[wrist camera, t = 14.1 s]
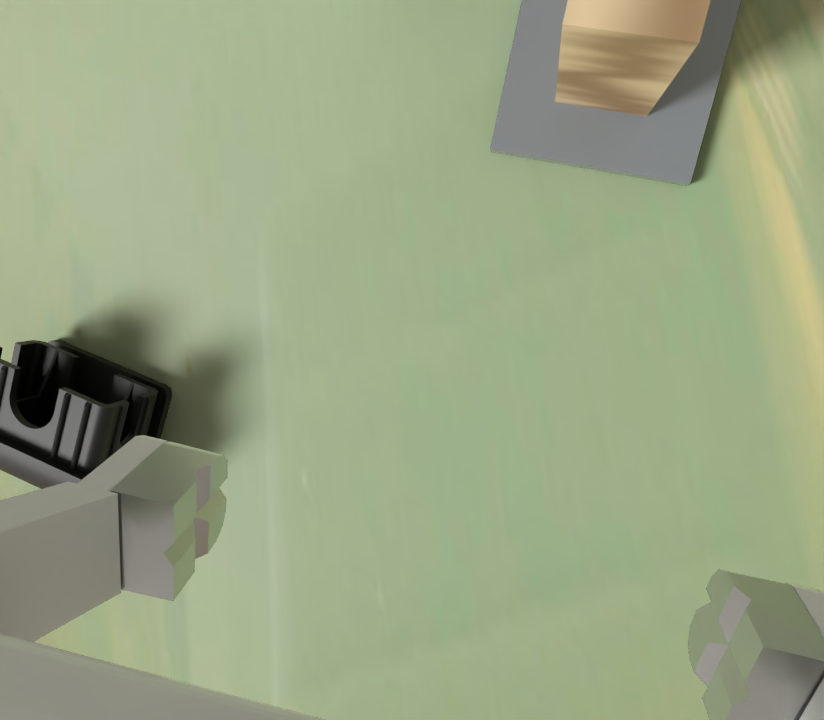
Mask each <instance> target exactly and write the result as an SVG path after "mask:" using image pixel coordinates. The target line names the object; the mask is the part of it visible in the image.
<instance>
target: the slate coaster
mask: <svg viewBox="0 0 824 720" xmlns="http://www.w3.org/2000/svg"><path fill="white" fill-rule="evenodd" d="M567 1H568V0H522V2H521V7H520V12H519V16H518V21H517V26H516V30H515V35H514V40H513V44H512V49H511V54H510V58H509V63H508V68H507V73H506V77H505V82H504V87H503V91H502V96H501V101H500V105H499V110H498V115H497V119H496V124H495V129H494V133H493V138H492V143H491V147H490V150H491V152H495V153H500V154H506V155H512V156H518V157H523V158H529V159H535V160H541V161H546V162H552V163H558V164H564V165H570V166H575V167H581V168H587V169H593V170H598V171H604V172H610V173H616V174H622V175H627V176H633V177H639V178H645V179H650V180H656V181H662V182H668V183H673V184H679V185H685V186H687V185H689V184H690V183H691V180H692V176H693V173H694V169H695V165H696V162H697V158H698V155H699V151H700V147H701V144H702V140H703V136H704V133H705V129H706V126H707V122H708V118H709V115H710V111H711V108H712V104H713V100H714V97H715V93H716V90H717V86H718V82H719V79H720V75H721V72H722V68H723V64H724V61H725V57H726V54H727V50H728V46H729V43H730V39H731V36H732V32H733V28H734V25H735V21H736V18H737V14H738V10H739V7H740V3H741V0H711V1H710V5H709V8H708V12H707V16H706V19H705V23H704V27H703V31H702V34H701V38H700V42H699V44H698V45H697V46H696V48H695V49H694V51H693V52H692V54H691V55H690V56H689V58H688V59H687V61H686V62H685V63H684V65H683V66H682V68H681V69H680V70H679V72H678V73H677V75H676V76H675V78H674V79H673V80H672V82H671V83H670V85H669V86H668V87H667V89H666V90H665V92H664V93H663V94H662V96H661V97H660V99H659V100H658V101H657V103H656V104H655V106H654V107H653V109H652V110H651V111H650V113H649V114H648V116H642V115H636V114H629V113H623V112H616V111H610V110H603V109H597V108H591V107H584V106H578V105H571V104H565V103H558V102H555V97H556V86H557V76H558V65H559V54H560V44H561V33H562V23H563V19H564V15H565V10H566V6H567Z"/></svg>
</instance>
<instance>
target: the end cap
mask: <svg viewBox="0 0 824 720" xmlns="http://www.w3.org/2000/svg"><path fill="white" fill-rule="evenodd" d="M1 353H2V347H0V358H1ZM171 397H172V392H171V390H170V388H169V387H168V386H167V385H165V384H162V383H160V382H158V381H155V380H153V379H151V378H148V377H146V376H144V375H141V374H139V373H136V372H134V371H132V370H129V369H127V368H125V367H122V366H120V365H117V364H115V363H113V362H110V361H108V360H106V359H103V358H101V357H99V356H96V355H94V354H91V353H89V352H87V351H84V350H82V349H80V348H77V347H75V346H72V345H70V344H68V343H65V342H63V341H61V340H54V341H50V342H48V343H46V342H42V341H35V340H33V341H24V342H17V343H15V347H14V352H13V357H12V362H11V363H9V362H7V361H4V360H2V359H0V470H2V471H4V472H7V473H9V474H11V475H13V476H15V477H17V478H19V479H22V480H24V481H26V482H28V483H30V484H32V485H35V486H37V487H39V488H41V489H44V488H47V487H51V486H54V485H58V484H61V483H65V482H72V483H78V482H80V481H81V480H82V479H83V478H85V477H86V476H87V475H88V474H90V473H91V472H92V471H93V470H94V469H96V468H97V467H98V466H99V465H101V464H102V463H103V462H104V461H106V460H107V459H108V458H109V457H110V456H112V455H113V454H114V453H115V452H117V451H118V450H119V449H120V448H122V447H123V446H124V445H125V444H126V443H128V442H129V441H130V440H131V439H133V438H134V437H135V436H141V435H145V436H149V437H154V438H158V439H160V438H161V434H162V430H163V427H164V423H165V419H166V416H167V412H168V408H169V404H170V401H171Z"/></svg>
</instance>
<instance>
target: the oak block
mask: <svg viewBox="0 0 824 720" xmlns="http://www.w3.org/2000/svg"><path fill="white" fill-rule="evenodd" d="M710 1H711V0H568V1H567V6H566V10H565V15H564V19H563V23H562V33H561V44H560V54H559V65H558V76H557V86H556V97H555V102H558V103H565V104H571V105H578V106H584V107H591V108H597V109H603V110H610V111H616V112H623V113H629V114H636V115H642V116H648V114H649V113H650V111H651V110H652V109H653V107H654V106H655V104H656V103H657V101H658V100H659V99H660V97H661V96H662V94H663V93H664V92H665V90H666V89H667V87H668V86H669V85H670V83H671V82H672V80H673V79H674V78H675V76H676V75H677V73H678V72H679V70H680V69H681V68H682V66H683V65H684V63H685V62H686V61H687V59H688V58H689V56H690V55H691V54H692V52H693V51H694V49H695V48H696V46H697V45H698V44H699V42H700V38H701V34H702V31H703V27H704V23H705V19H706V16H707V12H708V8H709V5H710Z"/></svg>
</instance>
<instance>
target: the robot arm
mask: <svg viewBox="0 0 824 720" xmlns="http://www.w3.org/2000/svg"><path fill="white" fill-rule="evenodd" d="M227 465H228V461H227V459H226V457H225V456H224V455H222V454H218V453H214V452H210V451H206V450H202V449H198V448H194V447H191V446H187V445H183V444H179V443H175V442H168V441H167V440H162V439H158V438H154V437H149V436H145V435H141V436H135V437H134V438H133V439H131V440H130V441H129V442H128V443H126V444H125V445H124V446H123V447H122V448H120V449H119V450H118V451H117V452H115V453H114V454H113V455H112V456H110V457H109V458H108V459H107V460H106V461H104V462H103V463H102V464H101V465H99V466H98V467H97V468H96V469H94V470H93V471H92V472H91V473H90V474H88V475H87V476H86V477H85V478H83V479H82V480H81V481H80V482H78V483H72V482H65V483H61V484H58V485H54V486H51V487H47V488H44V489H40V490H36V491H33V492H29V493H26V494H22V495H19V496H15V497H12V498H8V499H4V500H1V501H0V720H325V719H321V718H317V717H313V716H310V715H306V714H302V713H298V712H295V711H291V710H287V709H283V708H280V707H276V706H272V705H268V704H264V703H261V702H257V701H253V700H249V699H246V698H242V697H238V696H234V695H231V694H227V693H223V692H219V691H215V690H212V689H208V688H204V687H200V686H197V685H193V684H189V683H185V682H182V681H178V680H174V679H170V678H167V677H163V676H159V675H155V674H151V673H148V672H144V671H140V670H136V669H133V668H129V667H125V666H121V665H118V664H114V663H110V662H106V661H103V660H99V659H95V658H91V657H87V656H84V655H80V654H76V653H72V652H69V651H65V650H61V649H57V648H54V647H50V646H46V645H42V644H38V643H35V642H34V641H35V640H37V639H39V638H41V637H43V636H44V635H46V634H48V633H50V632H52V631H53V630H55V629H57V628H59V627H60V626H62V625H64V624H66V623H68V622H69V621H71V620H73V619H75V618H77V617H78V616H80V615H82V614H84V613H86V612H87V611H89V610H91V609H93V608H94V607H96V606H98V605H100V604H102V603H103V602H105V601H107V600H109V599H111V598H112V597H114V596H116V595H118V594H119V593H121V590H125V591H130V592H134V593H139V594H143V595H148V596H152V597H157V598H161V599H166V600H170V601H174V599H175V598H176V597H177V595H178V594H179V592H180V591H181V590H182V588H183V587H184V586H185V584H186V583H187V581H188V580H189V579H190V577H191V576H192V575H193V573H194V571H195V559H196V558H198V557H201V556H203V555H205V554H207V553H208V552H209V551H210V549H211V548H212V546H213V545H214V543H215V542H216V540H217V538H218V535H219V533H220V530H221V528H222V526H223V521H224V517H225V512H226V498H225V496H224V495H223V493H222V491H221V490H220V488H219V487H220V486H221V485H222V483H223V482H224V481H225V480H226V478H227ZM706 590H707V592H708V595H709V597H710V600H711V602H710V603H708V604H706V605H705V606H703V607H701V608H699V609H698V610H696V612H695V615H694V617H693V620H692V623H691V625H690V630H689V639H688V649H689V658H690V662H691V665H692V668H693V671H694V673H695V674H696V675H697V676H698V677H699V678H700V679H701V681H702V682H703V683H704V684H705V685H706V686H707V689H706V691H705V693H704V695H703V697H702V699H703V702H704V705H705V708H706V711H707V714H708V717H709V720H824V593H823V592H822V591H820V590H818V589H813V588H808V587H803V586H798V585H793V584H788V583H785V584H784V583H779V582H775V581H770V580H766V579H761V578H756V577H752V576H747V575H743V574H738V573H733V572H729V571H724V570H720V569H718V570H717V571H716V573H715V574H714V575H713V576H712V577H711V579H710V581H709V583H708V585H707V588H706Z"/></svg>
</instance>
